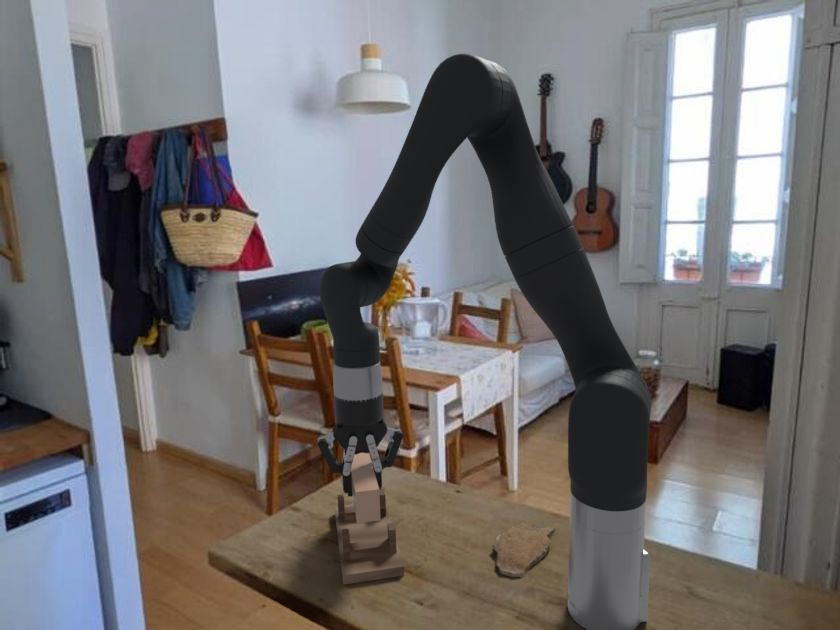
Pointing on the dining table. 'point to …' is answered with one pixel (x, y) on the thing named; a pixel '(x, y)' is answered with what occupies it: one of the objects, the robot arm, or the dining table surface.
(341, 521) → the brown cradle stand
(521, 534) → the pottery shard
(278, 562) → the dining table surface
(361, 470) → the clay bar
